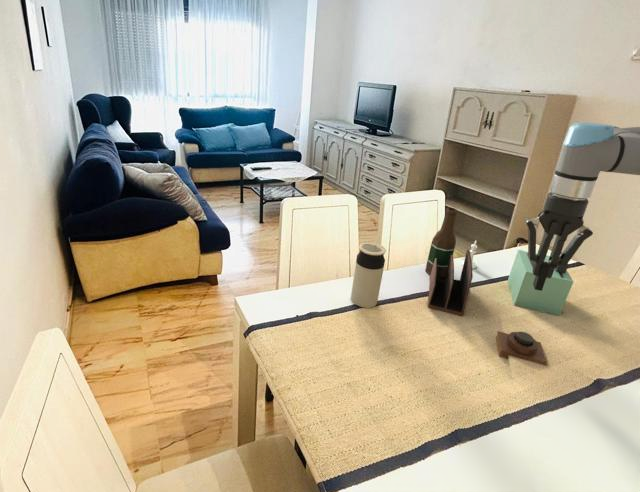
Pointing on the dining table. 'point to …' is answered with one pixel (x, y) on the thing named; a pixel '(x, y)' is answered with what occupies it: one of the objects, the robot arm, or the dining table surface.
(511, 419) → the dining table surface
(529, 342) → the button
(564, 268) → the toaster slider
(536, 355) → the button block
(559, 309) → the toaster
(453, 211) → the beer bottle
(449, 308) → the letter holder
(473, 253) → the chess piece
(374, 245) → the travel mug
